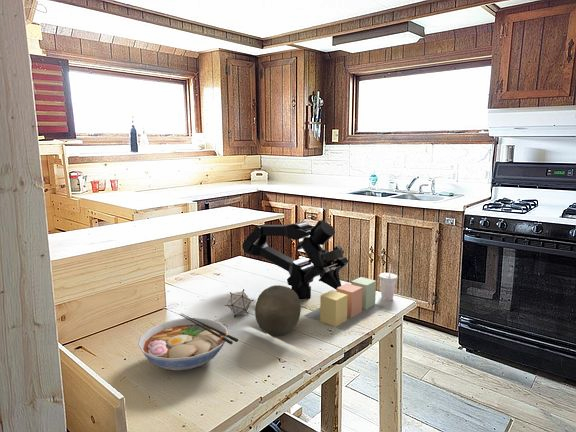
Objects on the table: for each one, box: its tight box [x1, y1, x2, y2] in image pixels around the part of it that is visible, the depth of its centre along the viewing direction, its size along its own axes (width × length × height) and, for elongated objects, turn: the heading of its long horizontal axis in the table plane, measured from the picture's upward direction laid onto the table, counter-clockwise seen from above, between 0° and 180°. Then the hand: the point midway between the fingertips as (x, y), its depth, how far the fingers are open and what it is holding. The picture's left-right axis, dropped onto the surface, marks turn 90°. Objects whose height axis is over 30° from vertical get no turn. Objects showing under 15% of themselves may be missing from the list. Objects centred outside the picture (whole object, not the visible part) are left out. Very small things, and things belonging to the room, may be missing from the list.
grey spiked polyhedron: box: [224, 288, 254, 318], centre depth 140 cm, size 9×8×10 cm
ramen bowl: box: [137, 312, 239, 371], centre depth 110 cm, size 25×23×8 cm
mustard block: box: [319, 289, 348, 328], centre depth 132 cm, size 6×6×8 cm
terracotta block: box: [336, 283, 362, 318], centre depth 138 cm, size 6×6×8 cm
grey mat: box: [303, 303, 385, 331], centre depth 140 cm, size 16×24×1 cm, turn 138°
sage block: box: [350, 276, 377, 309], centre depth 144 cm, size 6×6×8 cm
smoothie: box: [378, 263, 398, 301], centre depth 150 cm, size 6×6×14 cm
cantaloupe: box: [254, 284, 302, 337], centre depth 125 cm, size 14×14×15 cm
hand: (341, 290), depth 140 cm, fingers closed
